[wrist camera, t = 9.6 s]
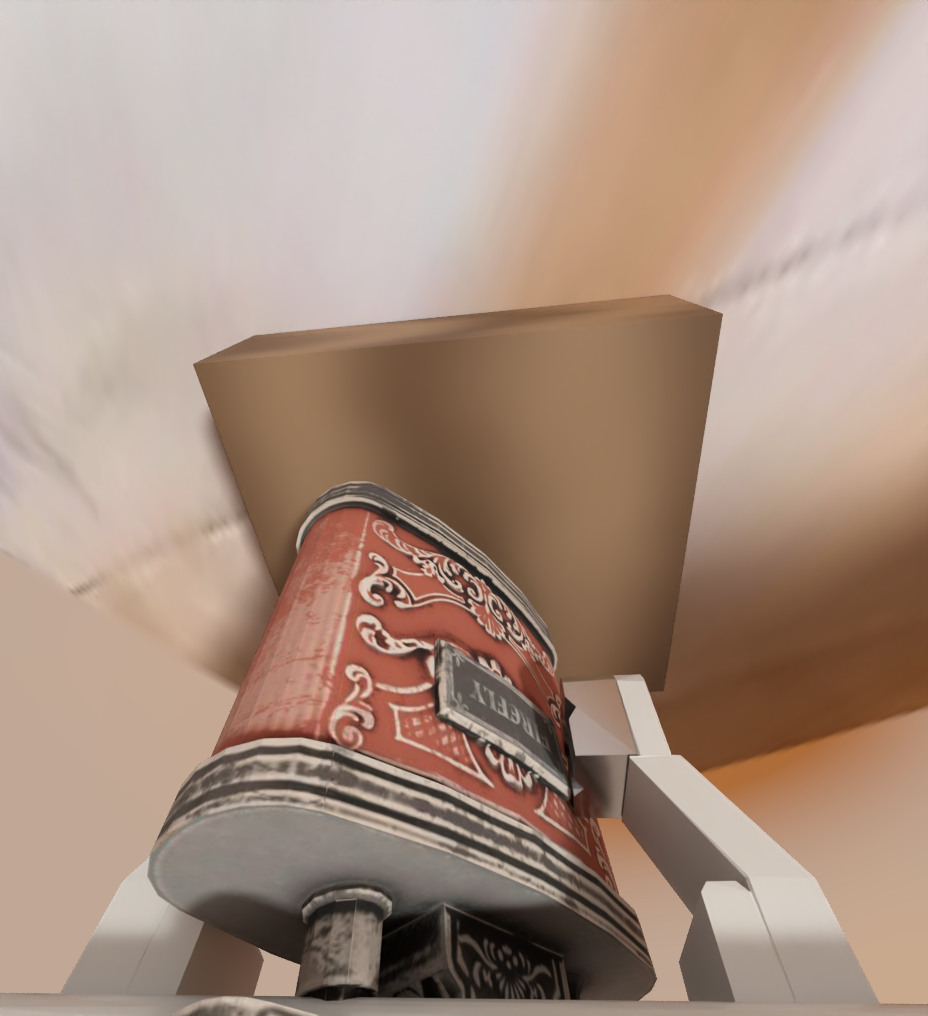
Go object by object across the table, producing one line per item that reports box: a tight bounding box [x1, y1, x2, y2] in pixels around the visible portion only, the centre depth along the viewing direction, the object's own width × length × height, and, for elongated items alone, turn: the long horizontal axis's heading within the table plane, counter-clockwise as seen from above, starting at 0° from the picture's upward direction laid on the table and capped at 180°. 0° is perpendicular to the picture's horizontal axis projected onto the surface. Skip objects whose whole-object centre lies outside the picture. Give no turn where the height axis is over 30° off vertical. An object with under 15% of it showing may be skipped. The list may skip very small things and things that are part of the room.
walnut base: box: [193, 295, 723, 692], centre depth 15 cm, size 12×12×4 cm
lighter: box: [147, 481, 657, 1016], centre depth 9 cm, size 8×3×10 cm, turn 43°
